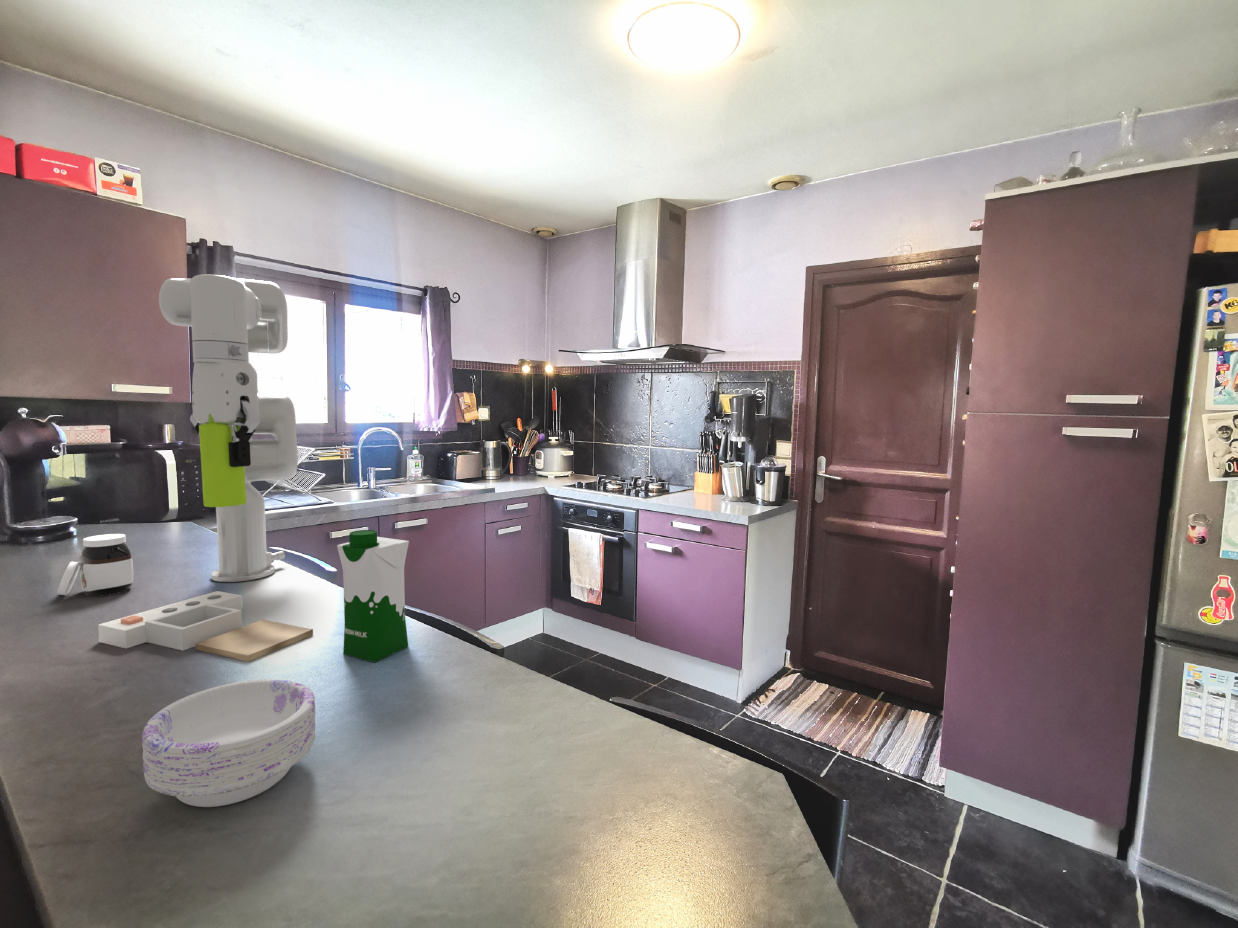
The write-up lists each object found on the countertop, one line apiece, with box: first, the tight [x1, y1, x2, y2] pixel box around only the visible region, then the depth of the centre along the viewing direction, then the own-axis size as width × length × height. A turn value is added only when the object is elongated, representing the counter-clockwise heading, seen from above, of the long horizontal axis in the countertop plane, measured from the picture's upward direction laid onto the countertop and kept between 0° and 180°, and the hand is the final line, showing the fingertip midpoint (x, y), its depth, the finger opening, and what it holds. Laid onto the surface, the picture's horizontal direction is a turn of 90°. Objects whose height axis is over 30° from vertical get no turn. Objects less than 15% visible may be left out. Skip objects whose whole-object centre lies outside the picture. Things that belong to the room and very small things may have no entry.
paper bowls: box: [141, 678, 316, 808], centre depth 63 cm, size 15×15×8 cm
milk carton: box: [336, 529, 410, 663], centre depth 96 cm, size 9×9×20 cm
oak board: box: [194, 619, 314, 662], centre depth 99 cm, size 12×12×1 cm
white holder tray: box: [97, 590, 244, 652], centre depth 105 cm, size 20×16×4 cm
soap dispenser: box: [198, 414, 246, 508], centre depth 97 cm, size 6×7×20 cm
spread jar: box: [57, 533, 134, 597], centre depth 124 cm, size 12×11×12 cm
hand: (226, 464), depth 98 cm, fingers closed on soap dispenser, 5 cm apart
